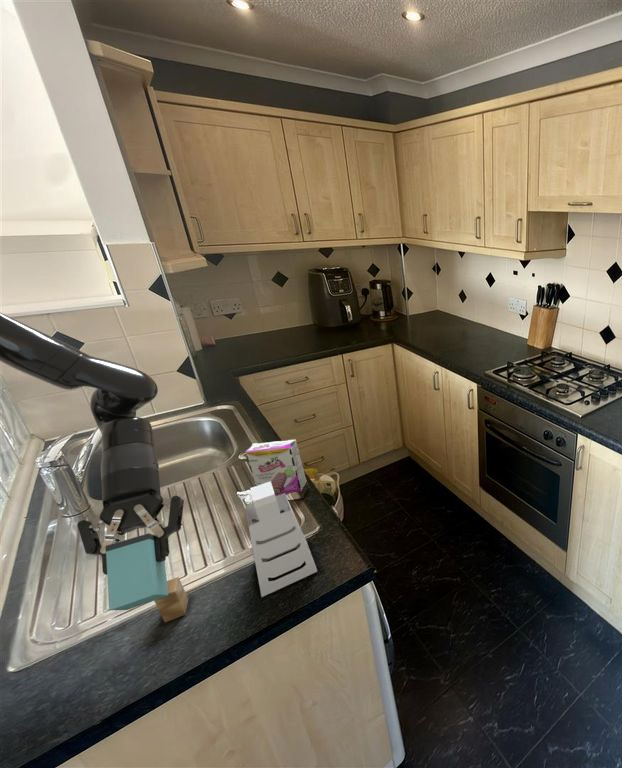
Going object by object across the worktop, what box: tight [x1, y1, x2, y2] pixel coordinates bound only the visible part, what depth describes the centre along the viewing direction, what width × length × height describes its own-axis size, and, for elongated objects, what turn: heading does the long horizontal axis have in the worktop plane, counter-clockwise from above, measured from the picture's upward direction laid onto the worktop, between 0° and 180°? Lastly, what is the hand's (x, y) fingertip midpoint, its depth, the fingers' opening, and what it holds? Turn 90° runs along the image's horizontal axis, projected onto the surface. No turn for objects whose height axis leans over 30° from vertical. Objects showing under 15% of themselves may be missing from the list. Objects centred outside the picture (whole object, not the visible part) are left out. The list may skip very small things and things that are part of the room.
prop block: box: [153, 576, 189, 623], centre depth 77 cm, size 3×4×6 cm
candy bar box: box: [245, 439, 308, 496], centre depth 109 cm, size 11×5×16 cm, turn 100°
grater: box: [244, 481, 318, 598], centre depth 84 cm, size 10×10×20 cm
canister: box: [106, 532, 168, 611], centre depth 68 cm, size 6×11×11 cm, turn 30°
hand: (137, 568), depth 68 cm, fingers closed on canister, 5 cm apart
